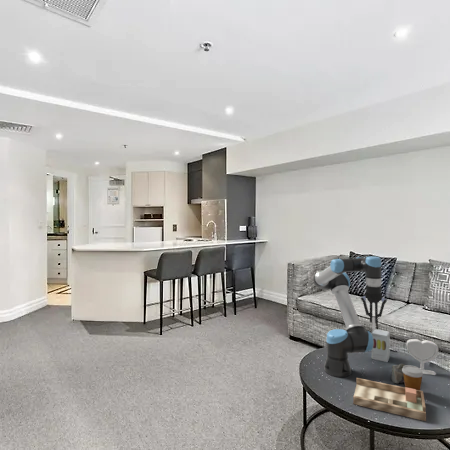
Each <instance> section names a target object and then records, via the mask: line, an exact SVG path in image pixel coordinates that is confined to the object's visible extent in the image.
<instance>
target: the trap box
mask: <svg viewBox="0 0 450 450" xmlns="http://www.w3.org/2000/svg"><path fill="white" fill-rule="evenodd" d="M355 382H356V386H355V389H354V394H353V401H352V402H353V403H352V404H353V405H355V406H360V407H364V408H369V409H373V410H377V411H381V412H385V413H389V414H392V415H398V416H402V417H406V418H411V419H413V420H414V419H415V420H419V421H424V422H427V412H426V409H427V408H426V402H425V395H424V391H423V390H421V389H420V390H416V403H414V402H409V401H406V397H405V386H399V385H396V384H395V385H394V384H389V383H385V382H379V381H375V380H374V381H373V380H370V379H364V378H360V377H356V381H355Z"/></svg>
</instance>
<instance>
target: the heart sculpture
mask: <svg viewBox="0 0 450 450" xmlns="http://www.w3.org/2000/svg"><path fill="white" fill-rule="evenodd" d="M406 349H407V352H408V353H409V355H410V356H411V357H412V358H413V359H415V360H416V361H418V362H419V365H420V366H419V368H420V369H421V370H422V372H423V375H432V376H435V375H437V372H435V371H433V370H428V369H425V364H426V363H428V362H432V361H433V360H434V359H436V357H437V356H438V354H439V346H438V345H437V343H435V342H433V341H432V340H431V341H430V340H427V339H425V340H420V339H418V338H411V339H408V340H406Z"/></svg>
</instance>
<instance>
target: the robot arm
mask: <svg viewBox="0 0 450 450" xmlns="http://www.w3.org/2000/svg"><path fill="white" fill-rule="evenodd" d="M329 264H330V265H329V266H328V267H326V268H325V269H323V270H322V271H317V272H316V273H314V275H313V278H312V281H313V284H314V286H316V287H317V289H320V290H329V291H330V293H331V294H332V295H334V296H335V300H336V302H337V305H338V308H339V311H340V314H341V316H342V319H343V321H344V325H345V328H346V329H342V328H341V329H340V328H336V329H335V328H334V329H331V330H329V331H328V332H327V333H326V340H325V341H326V359H325V362H324V364H323V369H324V372H325V373H326V374H328V375H330V376H332V377H336V378H337V377H338V378H344V377H345V378H347V377H349V376H350V375H352V367H351V364H350V361H349V357H348V356H349V354H357V353H359V354H360V353H363V354H364V353H368V352H372V348H373V336H372V331H371V332H370V331H369V330H366V327H365V326H364V325H362V324H361V322H360V319H359V316H358V314H357V312H356V309H355V306H354V304H353V301H352V299H351V295H350V293H349V290H350V286H351V279H350V276H349V275H348V274H347V273H357V272H364V273H365V284H366V285H365V295H363V296H361V297H360V300H361V302H362V305H363V308H364V312H365V315H366V316H369V322H370V323H371V329H372V330H375V329H376V324H378V323H379V320H378V319H379V318H381V317H382V315H383V311H384V307H385V304H386V303H387V301H388V300H387V298H385V297H383V295H382V294H383V293H382V265H383V264H382V258H381V257H380V256H373V255H372V256H371V255H369V256H366V257H364V256H362V257H360V256H358V257H356V258H355V257H354V258H335V259H331V261H330V263H329ZM366 300H367V301H368V302H369V308H368V306H367V305H368V304H367V301H366ZM380 301H381V302H382V303H381V306H380V309H379V307H378V303H380ZM373 303H374V315H373ZM378 311H379V313H378Z"/></svg>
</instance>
